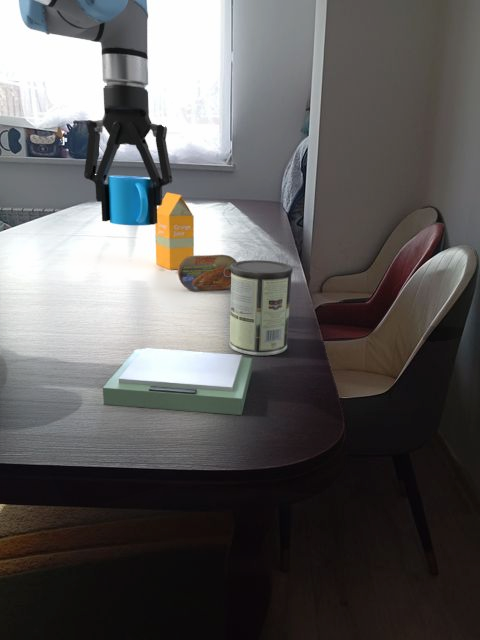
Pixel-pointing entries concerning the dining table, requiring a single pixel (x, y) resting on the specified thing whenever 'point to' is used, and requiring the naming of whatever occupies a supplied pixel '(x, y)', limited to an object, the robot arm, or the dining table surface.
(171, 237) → the orange juice
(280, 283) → the coffee can
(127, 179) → the mug
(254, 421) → the dining table surface
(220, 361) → the scale
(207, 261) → the tin
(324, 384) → the dining table surface
